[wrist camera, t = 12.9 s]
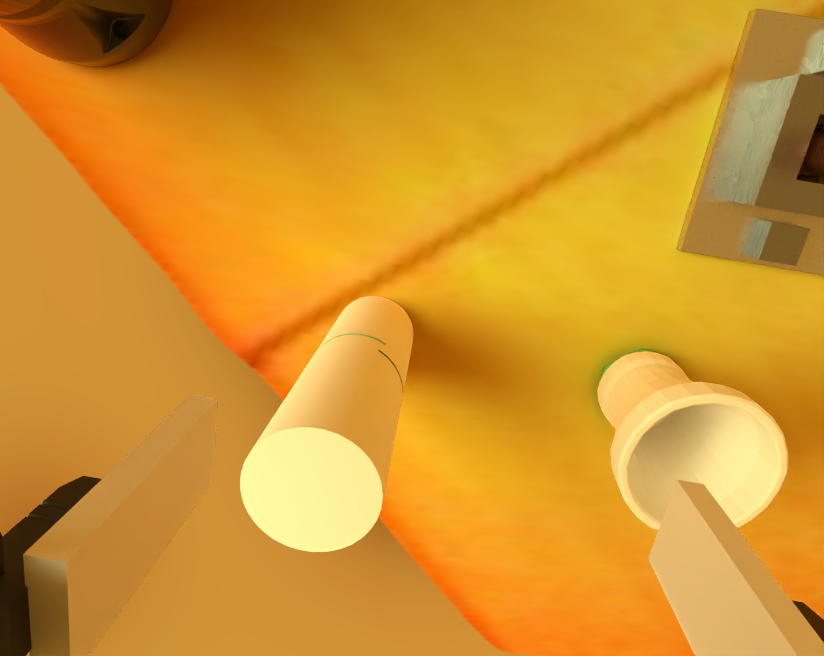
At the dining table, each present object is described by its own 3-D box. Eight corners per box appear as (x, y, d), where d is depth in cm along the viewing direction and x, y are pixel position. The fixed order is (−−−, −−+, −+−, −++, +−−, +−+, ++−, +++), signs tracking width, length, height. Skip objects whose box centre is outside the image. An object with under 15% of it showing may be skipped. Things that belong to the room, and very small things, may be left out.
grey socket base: (675, 248, 48) (701, 259, 43) (749, 11, 42) (788, -6, 37) (840, 276, 47) (884, 291, 43) (936, 42, 42) (998, 29, 37)
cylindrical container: (374, 384, 53) (313, 575, 29) (320, 331, 52) (210, 485, 28) (429, 336, 51) (413, 498, 28) (375, 279, 50) (308, 398, 26)
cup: (553, 362, 51) (591, 439, 38) (670, 305, 49) (754, 365, 36) (605, 458, 54) (657, 562, 40) (719, 408, 52) (814, 500, 38)
